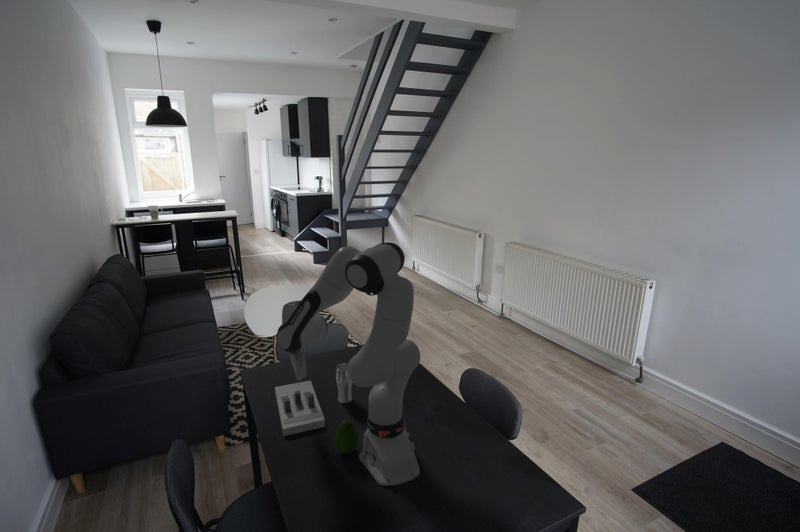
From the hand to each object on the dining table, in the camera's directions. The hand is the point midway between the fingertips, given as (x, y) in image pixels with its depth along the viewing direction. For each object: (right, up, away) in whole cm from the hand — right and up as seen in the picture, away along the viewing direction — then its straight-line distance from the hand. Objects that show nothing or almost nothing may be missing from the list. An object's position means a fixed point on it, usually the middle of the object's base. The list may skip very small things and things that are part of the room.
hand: (298, 377), depth 157 cm
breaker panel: (-2, -15, +10) cm, 18 cm away
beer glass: (+15, -14, +16) cm, 26 cm away
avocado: (+20, -22, -14) cm, 33 cm away
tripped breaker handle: (-2, -12, +9) cm, 15 cm away
